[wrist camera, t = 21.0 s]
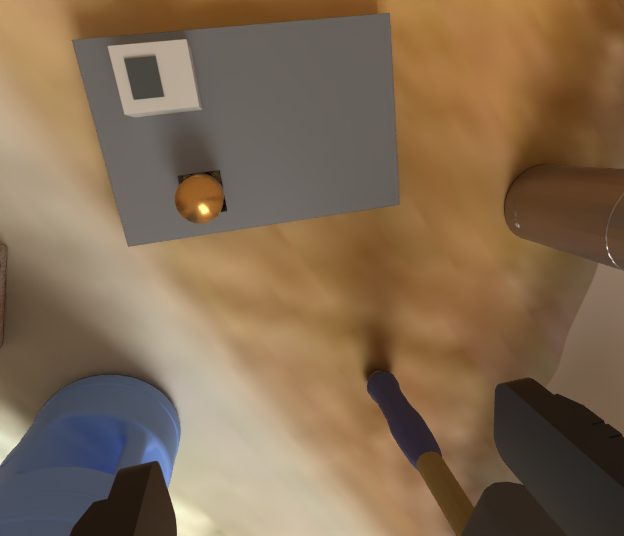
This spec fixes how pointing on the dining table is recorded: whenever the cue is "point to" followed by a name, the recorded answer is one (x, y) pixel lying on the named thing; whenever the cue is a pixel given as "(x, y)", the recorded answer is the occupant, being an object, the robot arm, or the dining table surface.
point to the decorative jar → (2, 286)
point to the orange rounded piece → (199, 198)
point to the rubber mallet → (446, 490)
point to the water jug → (83, 452)
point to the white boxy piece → (155, 78)
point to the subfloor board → (256, 125)
